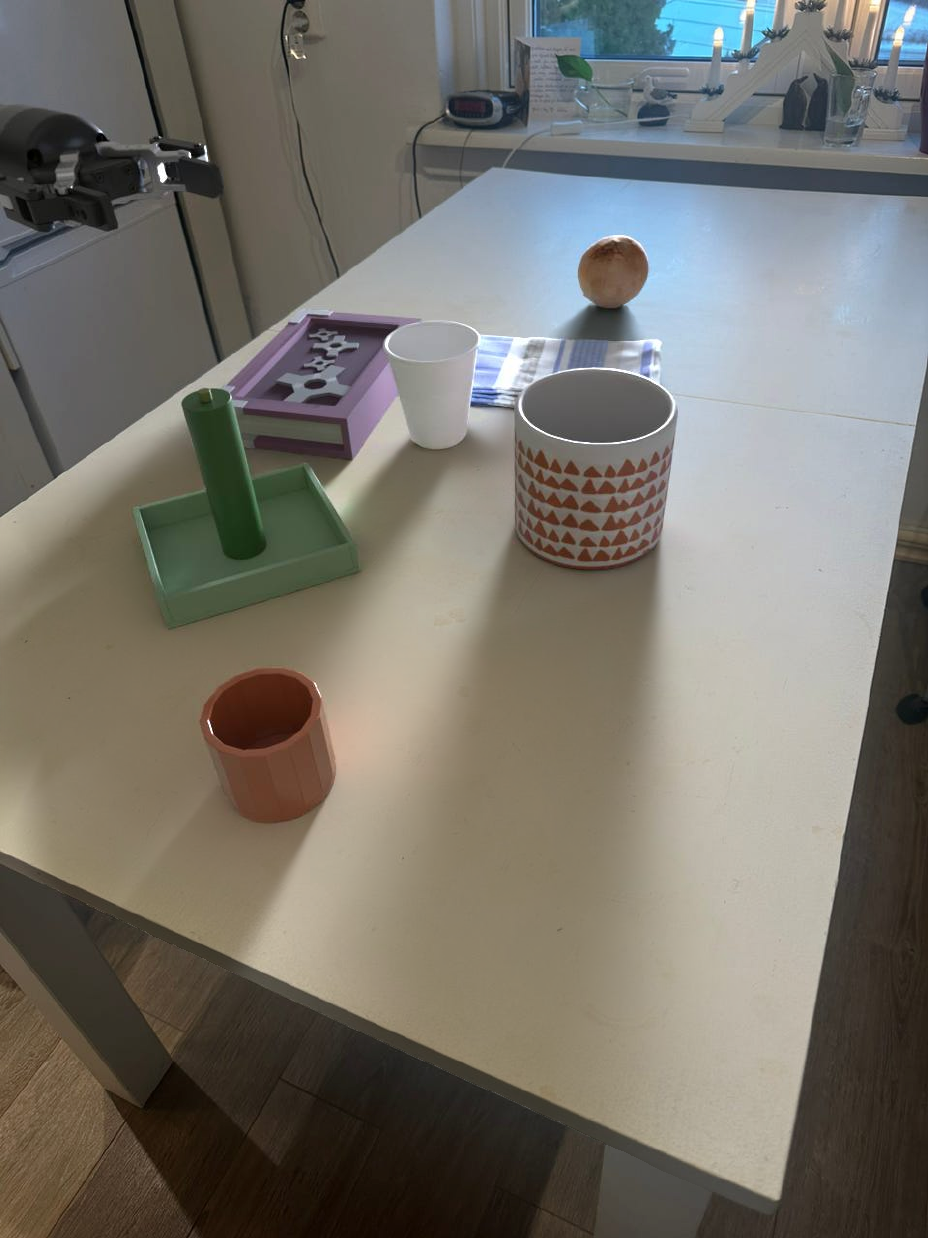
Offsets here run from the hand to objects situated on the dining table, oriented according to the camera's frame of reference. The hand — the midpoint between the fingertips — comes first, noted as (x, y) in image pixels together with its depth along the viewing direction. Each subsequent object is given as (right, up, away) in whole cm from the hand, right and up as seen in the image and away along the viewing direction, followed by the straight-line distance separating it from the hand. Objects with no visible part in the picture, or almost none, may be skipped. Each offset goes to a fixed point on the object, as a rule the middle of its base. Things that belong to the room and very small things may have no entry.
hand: (166, 197), depth 59 cm
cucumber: (0, -22, +22) cm, 31 cm away
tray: (0, -22, +22) cm, 32 cm away
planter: (+32, -20, +23) cm, 44 cm away
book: (+4, -2, +45) cm, 45 cm away
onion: (+40, +15, +62) cm, 75 cm away
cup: (+17, -9, +37) cm, 41 cm away
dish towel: (+32, 0, +45) cm, 55 cm away
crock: (+7, -40, +2) cm, 40 cm away
